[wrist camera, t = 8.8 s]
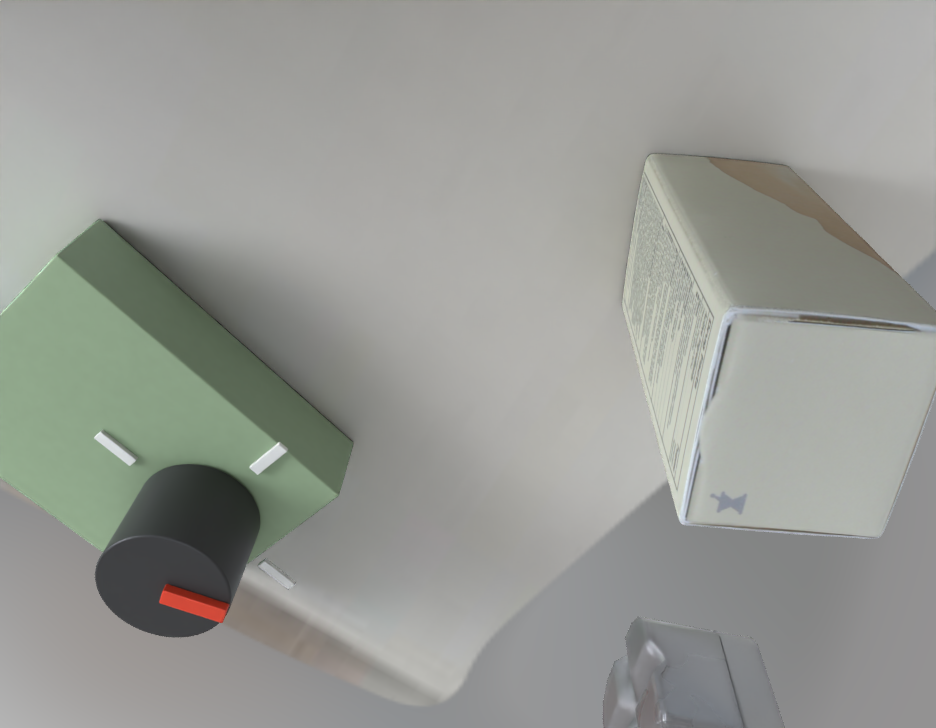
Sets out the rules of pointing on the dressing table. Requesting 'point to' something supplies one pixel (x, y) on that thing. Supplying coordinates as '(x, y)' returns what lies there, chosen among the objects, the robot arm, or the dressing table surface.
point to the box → (773, 351)
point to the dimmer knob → (179, 551)
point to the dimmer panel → (147, 399)
